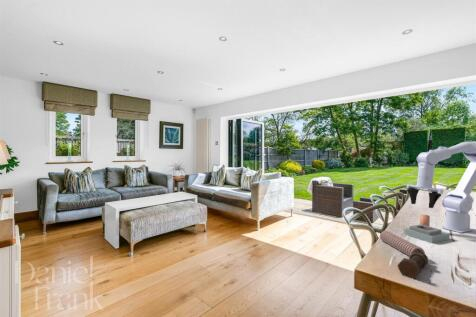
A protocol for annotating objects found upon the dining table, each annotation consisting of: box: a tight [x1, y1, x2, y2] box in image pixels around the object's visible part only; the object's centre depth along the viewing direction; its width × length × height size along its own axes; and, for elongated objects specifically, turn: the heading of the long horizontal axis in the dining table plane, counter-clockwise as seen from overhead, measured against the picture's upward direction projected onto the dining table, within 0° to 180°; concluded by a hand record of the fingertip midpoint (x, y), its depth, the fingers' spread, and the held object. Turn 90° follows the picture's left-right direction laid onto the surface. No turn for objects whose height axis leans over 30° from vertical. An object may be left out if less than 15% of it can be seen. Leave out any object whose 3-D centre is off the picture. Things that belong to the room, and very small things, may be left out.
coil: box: [379, 230, 426, 257], centre depth 89 cm, size 5×5×18 cm
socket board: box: [404, 223, 451, 244], centre depth 103 cm, size 12×11×4 cm
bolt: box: [397, 252, 429, 280], centre depth 75 cm, size 6×5×15 cm
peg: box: [419, 213, 431, 227], centre depth 111 cm, size 4×4×7 cm
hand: (421, 205), depth 110 cm, fingers open, 7 cm apart
